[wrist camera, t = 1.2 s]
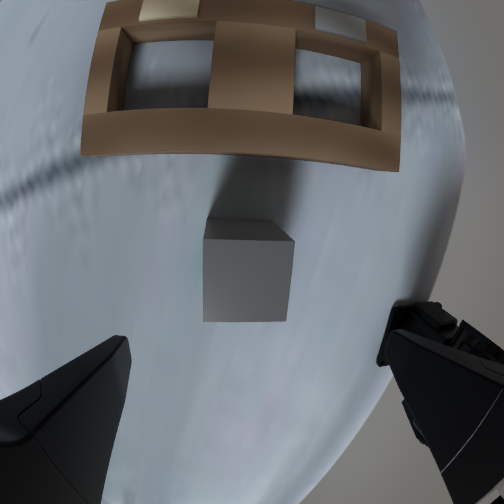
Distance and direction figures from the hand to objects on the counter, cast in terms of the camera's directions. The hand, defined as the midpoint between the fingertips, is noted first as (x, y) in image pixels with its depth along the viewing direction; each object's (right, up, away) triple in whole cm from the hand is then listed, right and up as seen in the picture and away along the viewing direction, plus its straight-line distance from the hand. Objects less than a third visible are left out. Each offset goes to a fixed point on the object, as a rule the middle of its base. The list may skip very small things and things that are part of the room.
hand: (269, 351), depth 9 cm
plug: (-1, +3, +11) cm, 12 cm away
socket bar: (-1, +15, +8) cm, 17 cm away
